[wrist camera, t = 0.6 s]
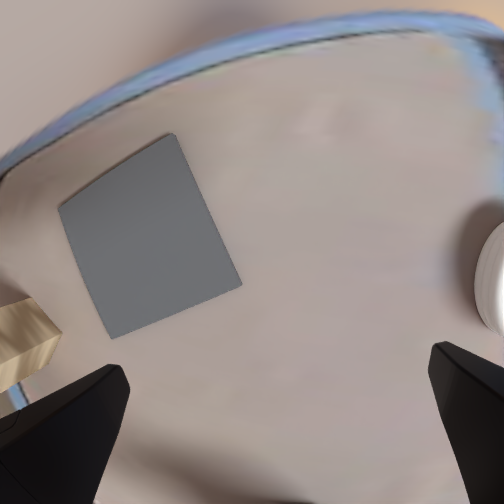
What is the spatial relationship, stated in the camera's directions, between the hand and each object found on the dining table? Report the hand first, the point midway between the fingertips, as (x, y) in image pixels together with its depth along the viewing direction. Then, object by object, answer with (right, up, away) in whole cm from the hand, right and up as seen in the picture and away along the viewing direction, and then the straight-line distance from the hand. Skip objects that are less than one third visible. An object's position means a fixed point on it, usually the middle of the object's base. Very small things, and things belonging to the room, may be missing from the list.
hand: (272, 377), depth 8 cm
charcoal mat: (-9, +4, +15) cm, 18 cm away
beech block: (-22, -5, +17) cm, 28 cm away
